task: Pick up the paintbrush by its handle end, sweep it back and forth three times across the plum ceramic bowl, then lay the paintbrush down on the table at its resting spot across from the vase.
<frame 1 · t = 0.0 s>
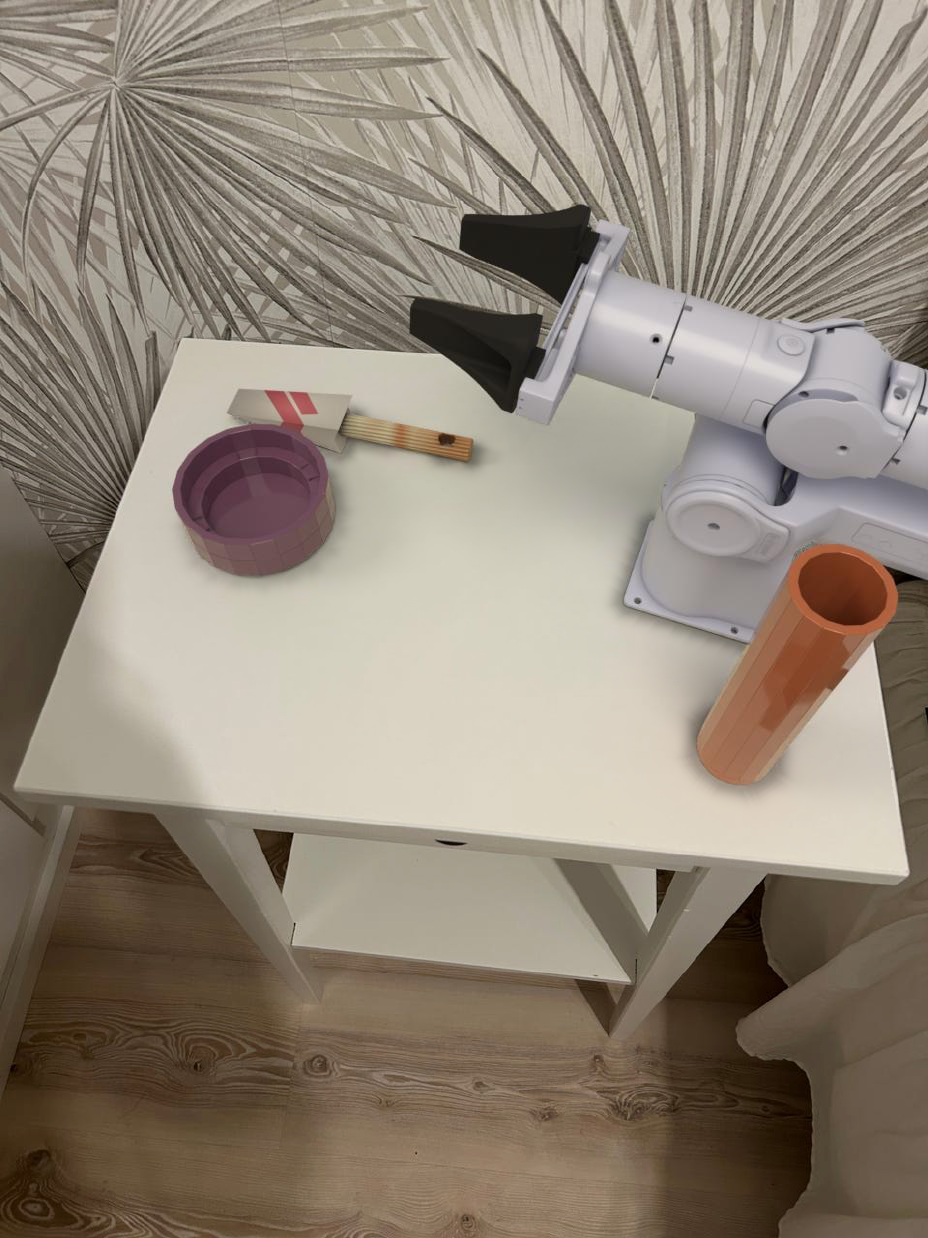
hand: (437, 272, 50), 22 cm above the table, tool horizontal, fingers open, 7 cm apart
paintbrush: (352, 437, 73), on the table
bowl: (263, 518, 69), on the table
vase: (734, 749, 59), on the table
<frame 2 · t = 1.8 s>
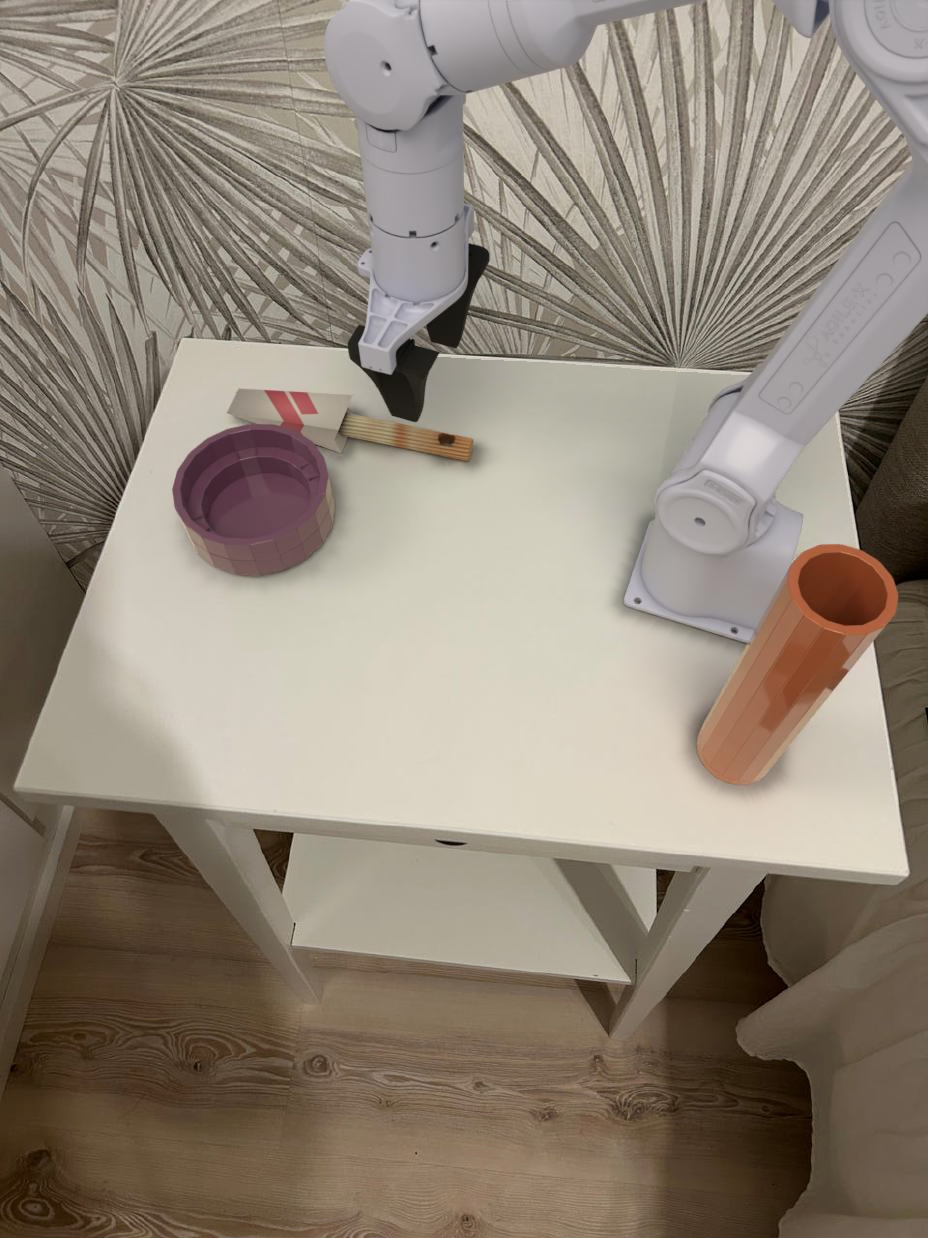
hand: (426, 377, 64), 9 cm above the table, tool pointing down, fingers open, 7 cm apart
nothing on the table moved.
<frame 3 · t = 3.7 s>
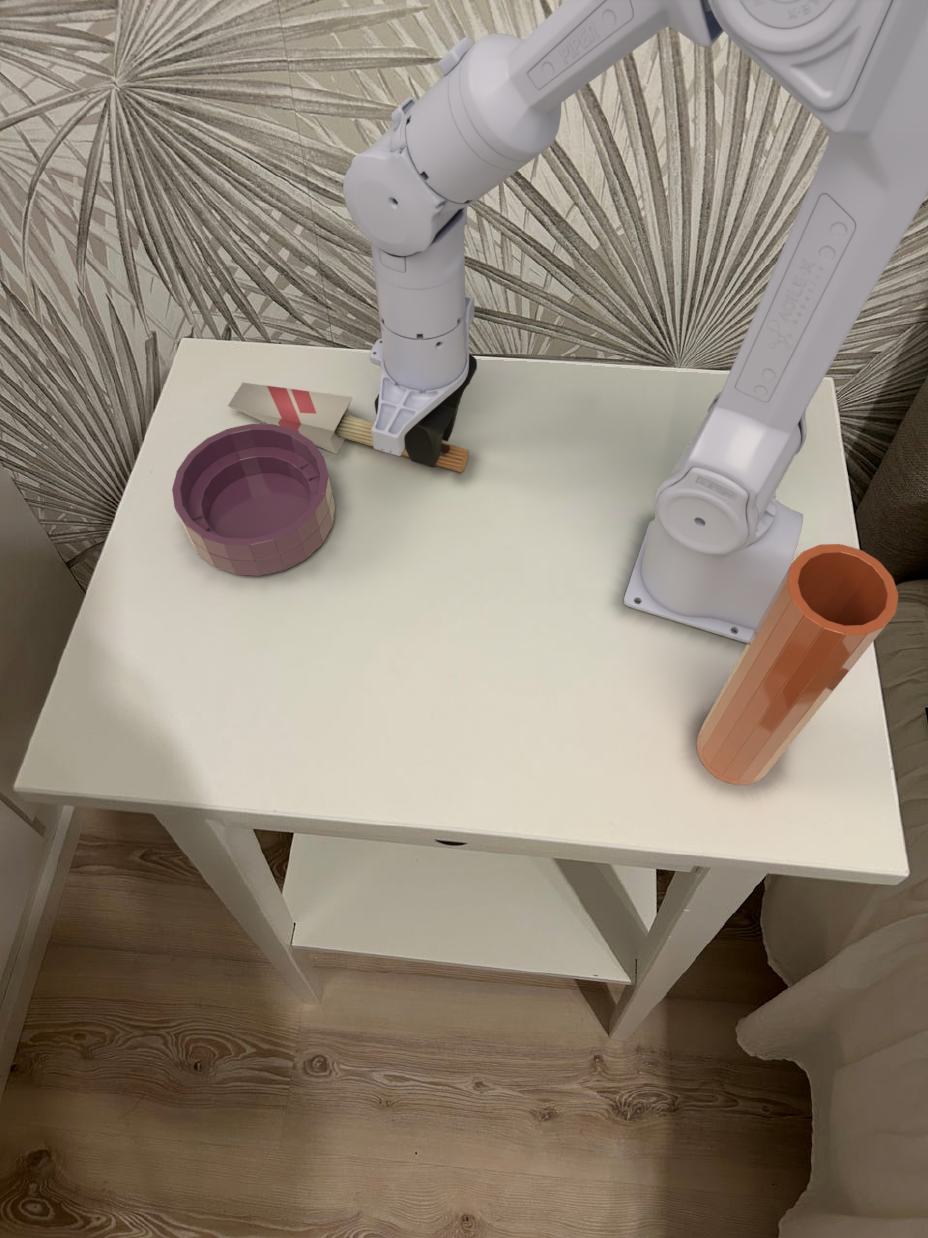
hand: (430, 447, 70), 1 cm above the table, tool pointing down, fingers closed on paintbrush, 2 cm apart
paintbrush: (350, 439, 73), on the table, touching gripper
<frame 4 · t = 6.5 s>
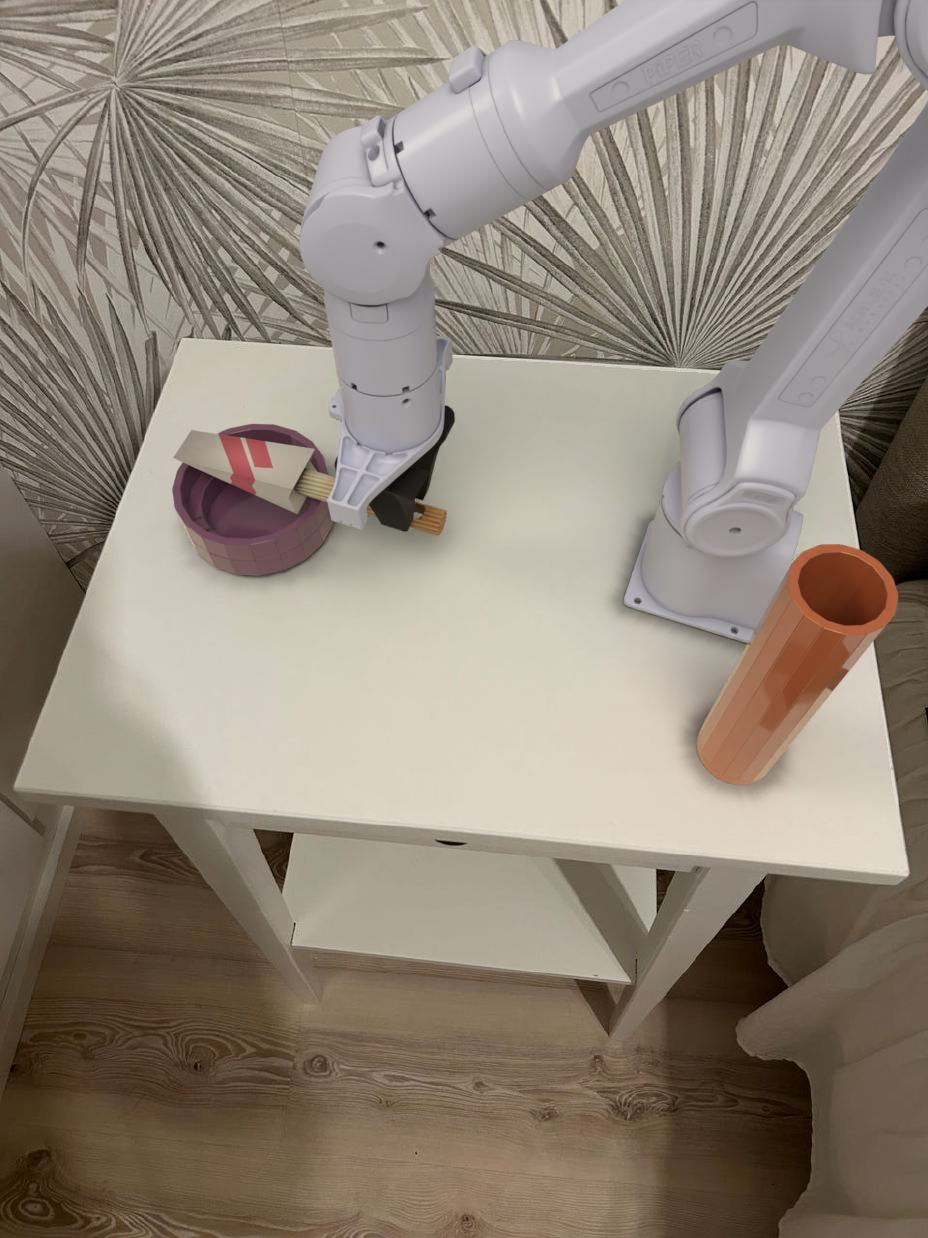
hand: (403, 508, 62), 6 cm above the table, tool pointing down, fingers closed on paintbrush, 2 cm apart
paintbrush: (312, 496, 64), point 5 cm above the table, touching gripper
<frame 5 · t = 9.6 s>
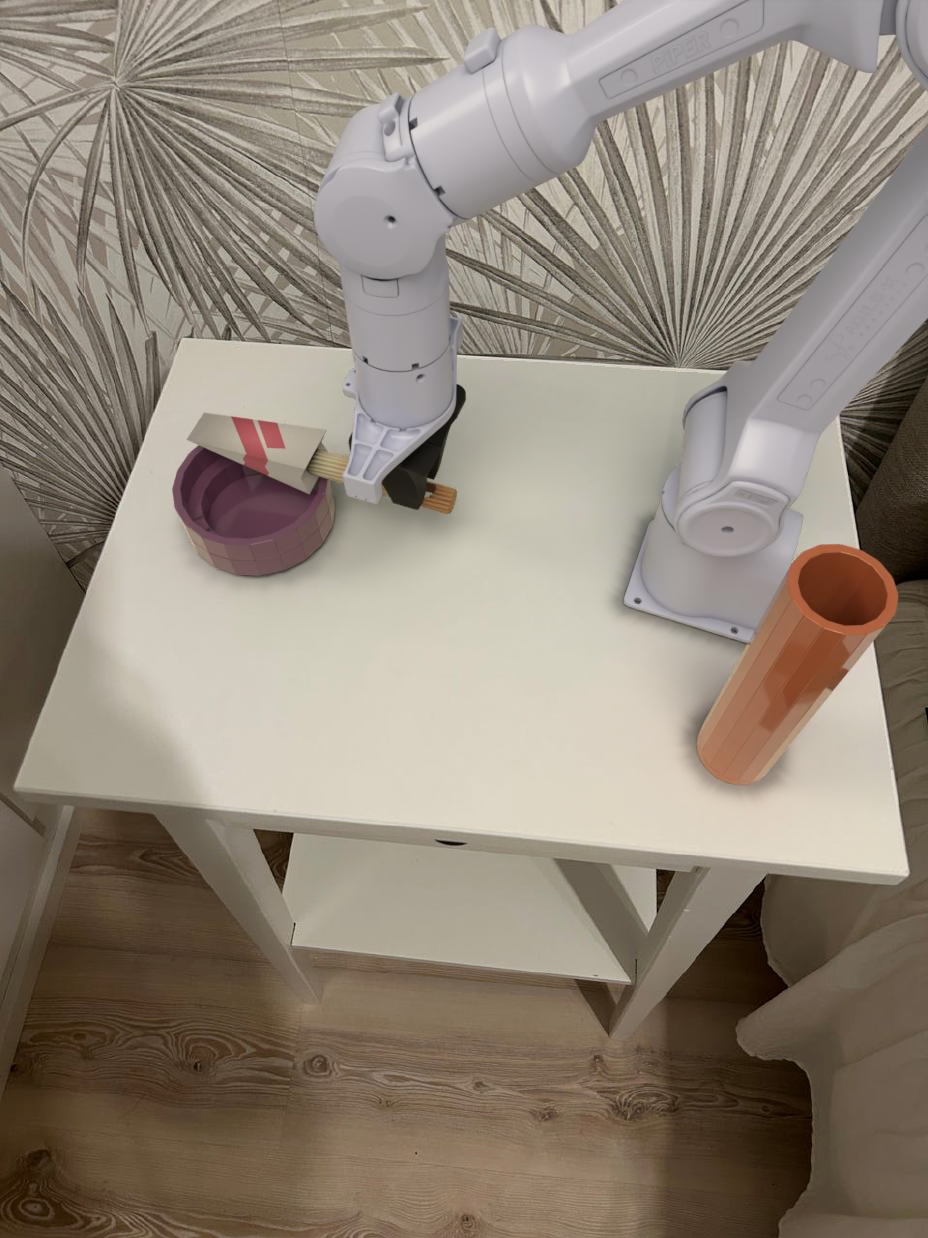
hand: (414, 487, 62), 6 cm above the table, tool pointing down, fingers closed on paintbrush, 2 cm apart
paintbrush: (324, 477, 65), point 5 cm above the table, touching gripper
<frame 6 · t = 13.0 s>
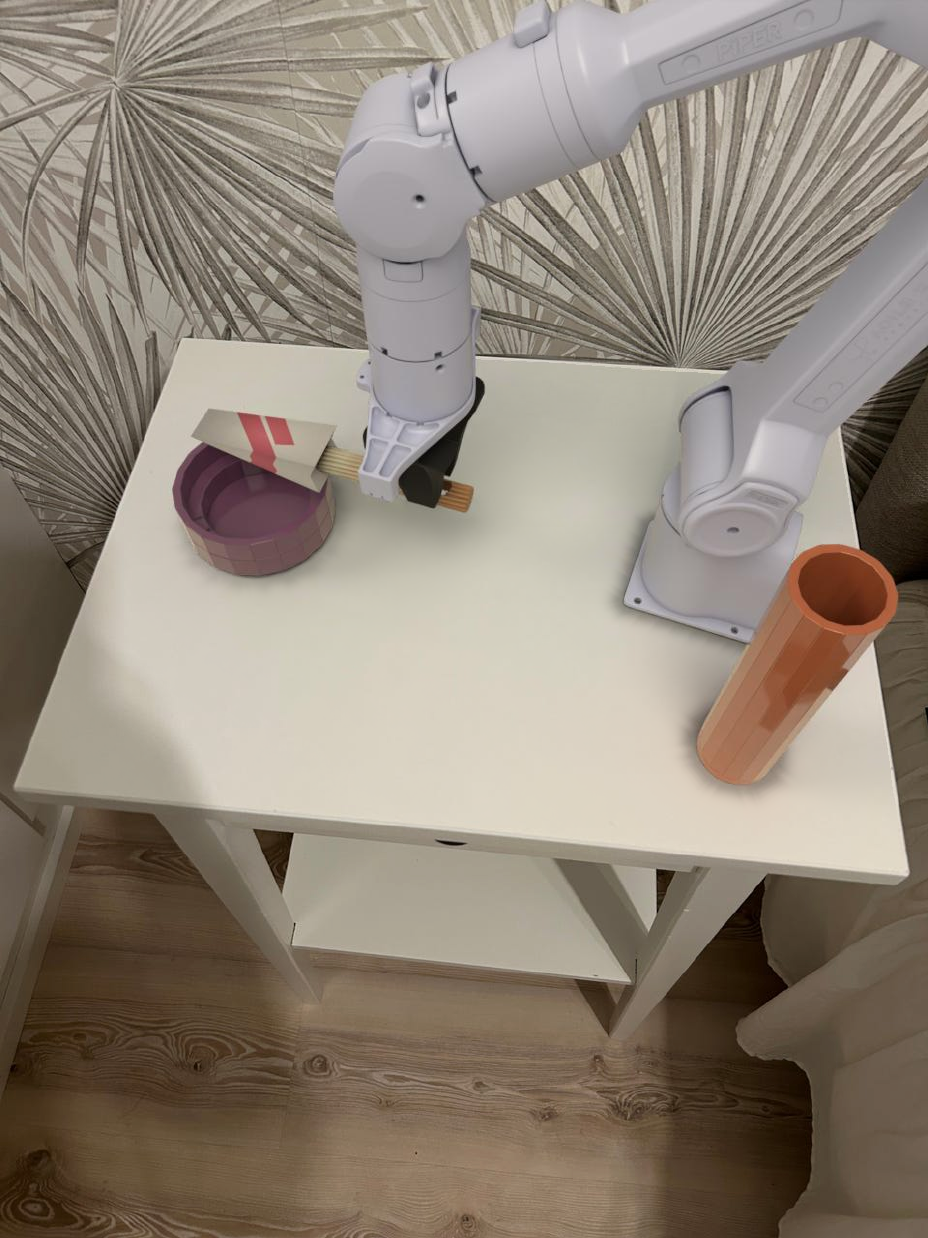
hand: (430, 484, 60), 8 cm above the table, tool pointing down, fingers closed on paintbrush, 2 cm apart
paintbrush: (334, 474, 62), point 7 cm above the table, touching gripper
when the fingers open (1 cm above the table, at t = 15.8 s): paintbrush stays where it is, on the table.
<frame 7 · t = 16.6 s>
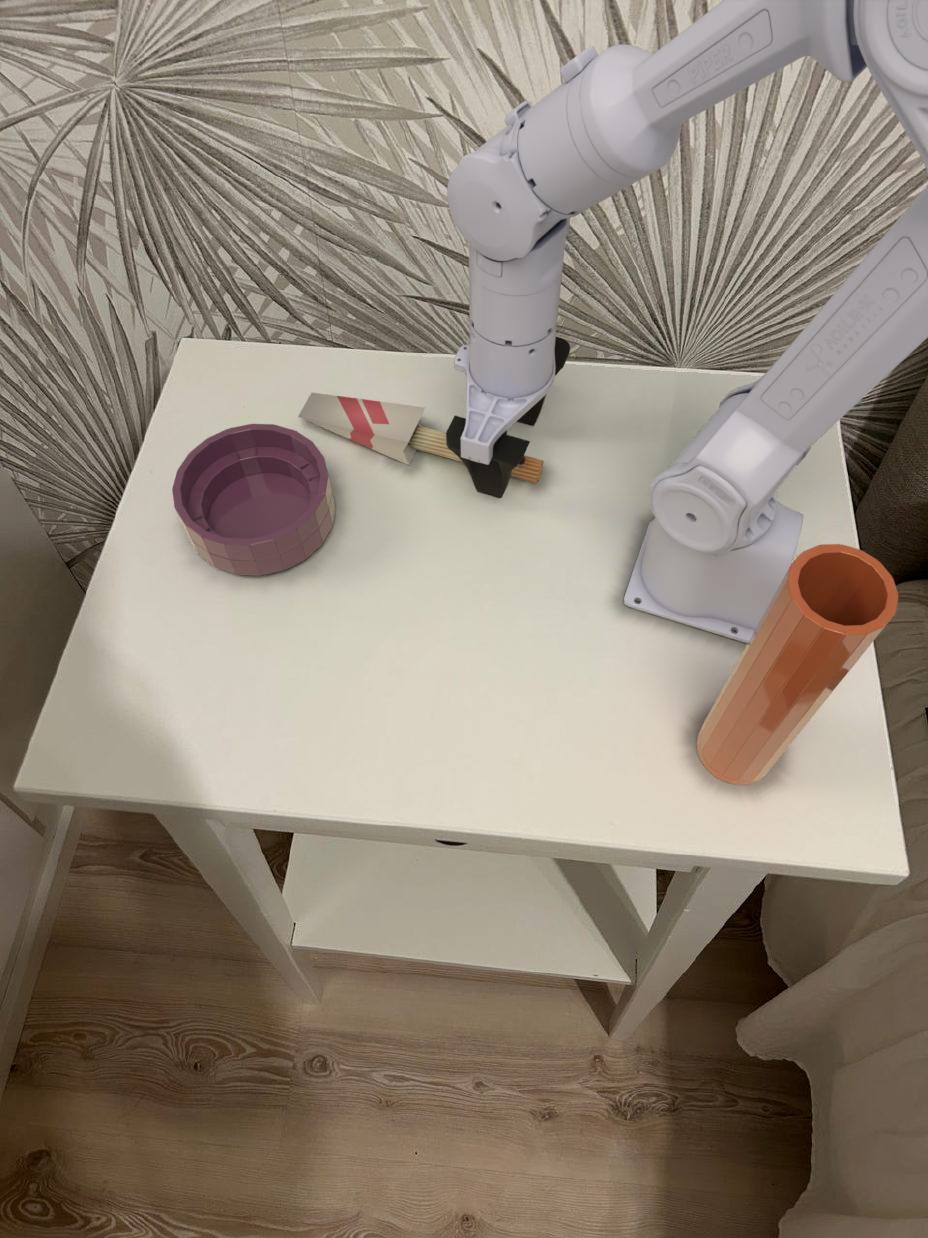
hand: (506, 455, 69), 2 cm above the table, tool pointing down, fingers open, 7 cm apart
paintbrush: (421, 450, 72), on the table
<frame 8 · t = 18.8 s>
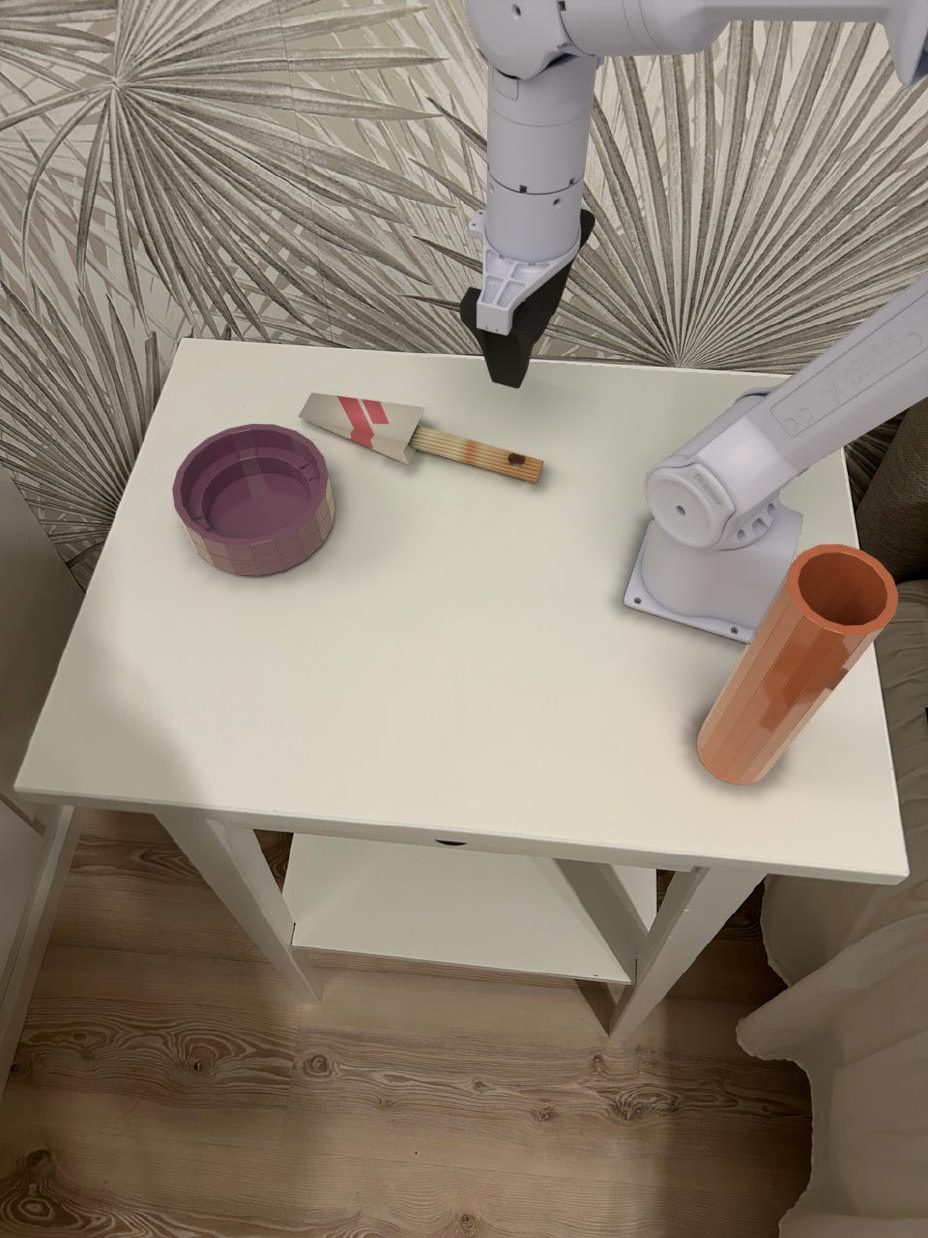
hand: (524, 344, 63), 10 cm above the table, tool pointing down, fingers open, 7 cm apart
nothing on the table moved.
at the end: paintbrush moved 5.8 cm from its start; the gripper is holding nothing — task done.
